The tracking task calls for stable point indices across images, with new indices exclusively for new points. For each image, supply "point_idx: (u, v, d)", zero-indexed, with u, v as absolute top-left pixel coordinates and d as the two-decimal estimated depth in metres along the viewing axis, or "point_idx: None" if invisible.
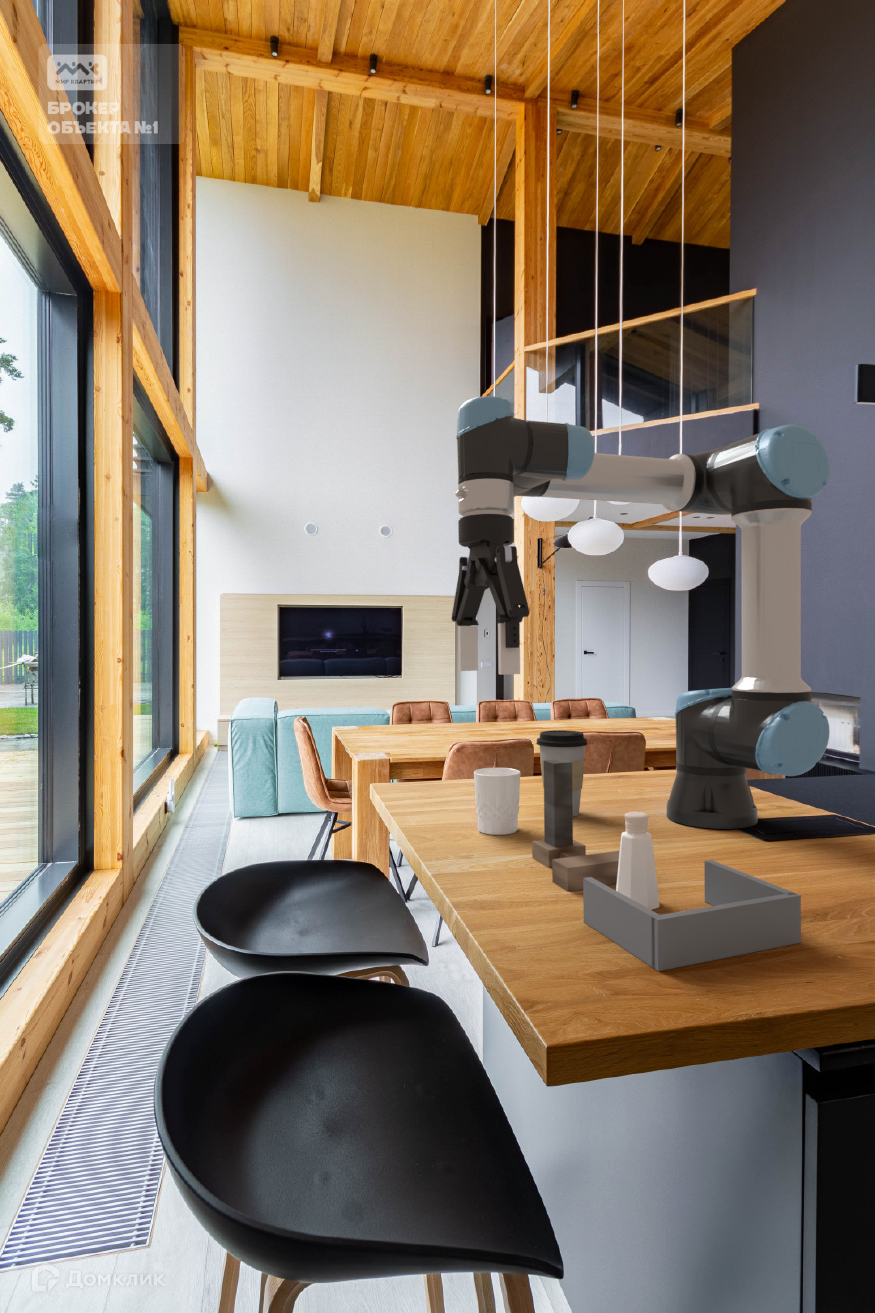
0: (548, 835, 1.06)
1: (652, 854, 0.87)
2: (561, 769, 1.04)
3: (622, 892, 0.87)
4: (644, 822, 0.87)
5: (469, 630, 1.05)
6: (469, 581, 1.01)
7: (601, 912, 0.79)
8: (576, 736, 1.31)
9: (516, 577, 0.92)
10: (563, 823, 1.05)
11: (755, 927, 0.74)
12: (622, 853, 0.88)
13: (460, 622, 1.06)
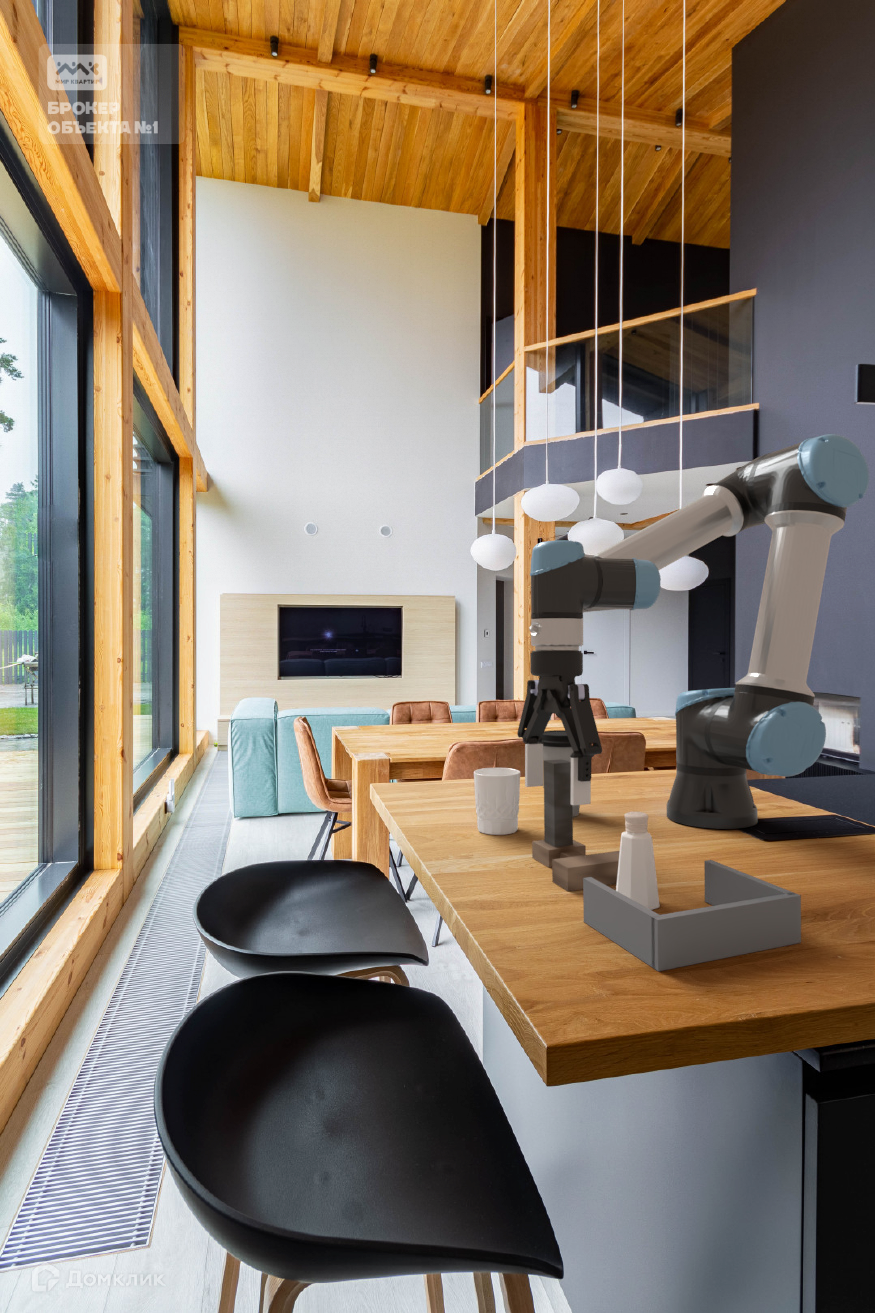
0: (548, 835, 1.06)
1: (652, 854, 0.87)
2: (562, 769, 1.04)
3: (622, 892, 0.87)
4: (644, 822, 0.87)
5: (535, 748, 1.12)
6: (538, 707, 1.07)
7: (601, 912, 0.79)
8: None
9: (589, 715, 0.98)
10: (563, 823, 1.05)
11: (755, 927, 0.74)
12: (622, 853, 0.88)
13: (527, 740, 1.12)
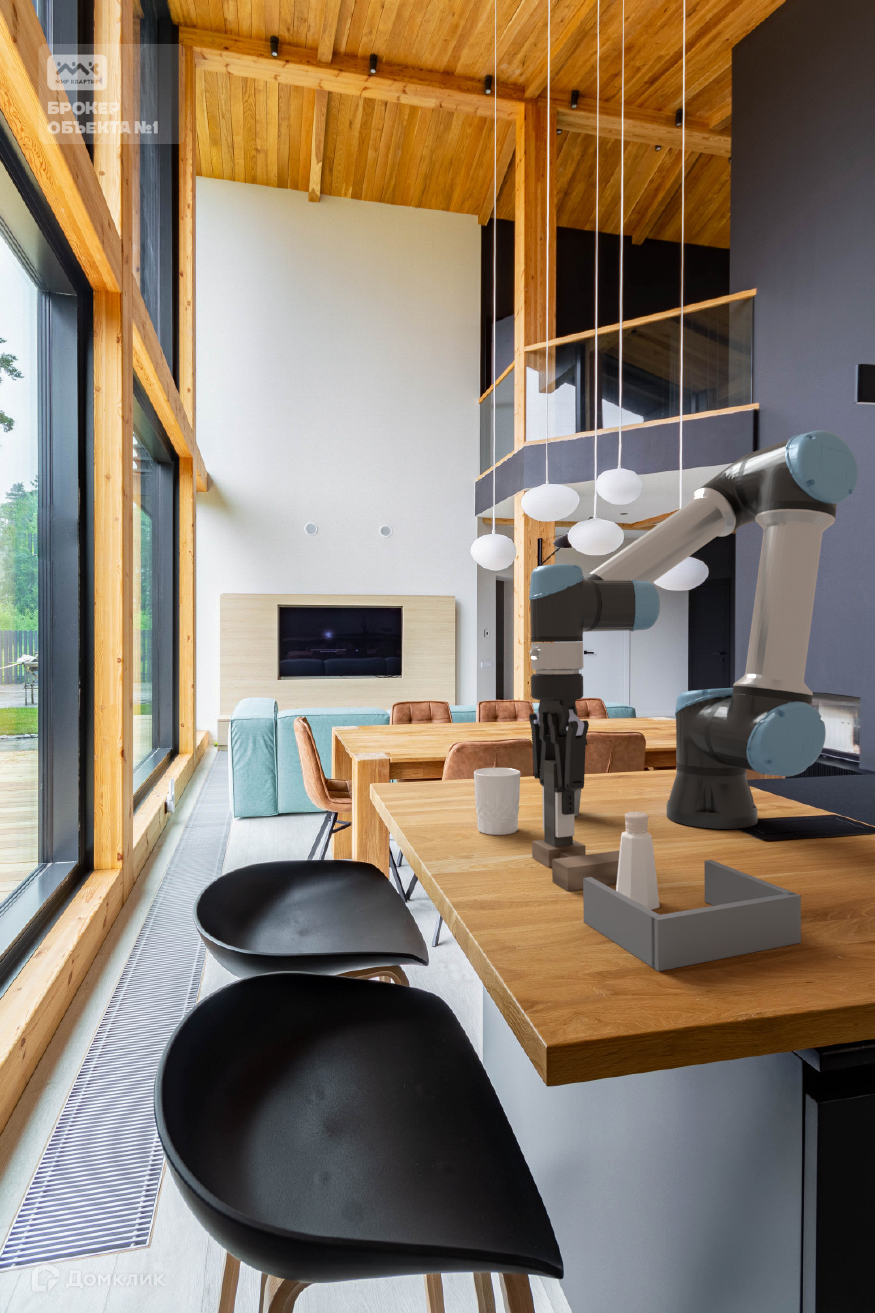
0: (548, 835, 1.06)
1: (652, 854, 0.87)
2: None
3: (622, 892, 0.87)
4: (644, 823, 0.87)
5: None
6: (544, 733, 1.06)
7: (601, 912, 0.79)
8: None
9: (581, 753, 1.01)
10: None
11: (755, 927, 0.74)
12: (622, 853, 0.88)
13: None
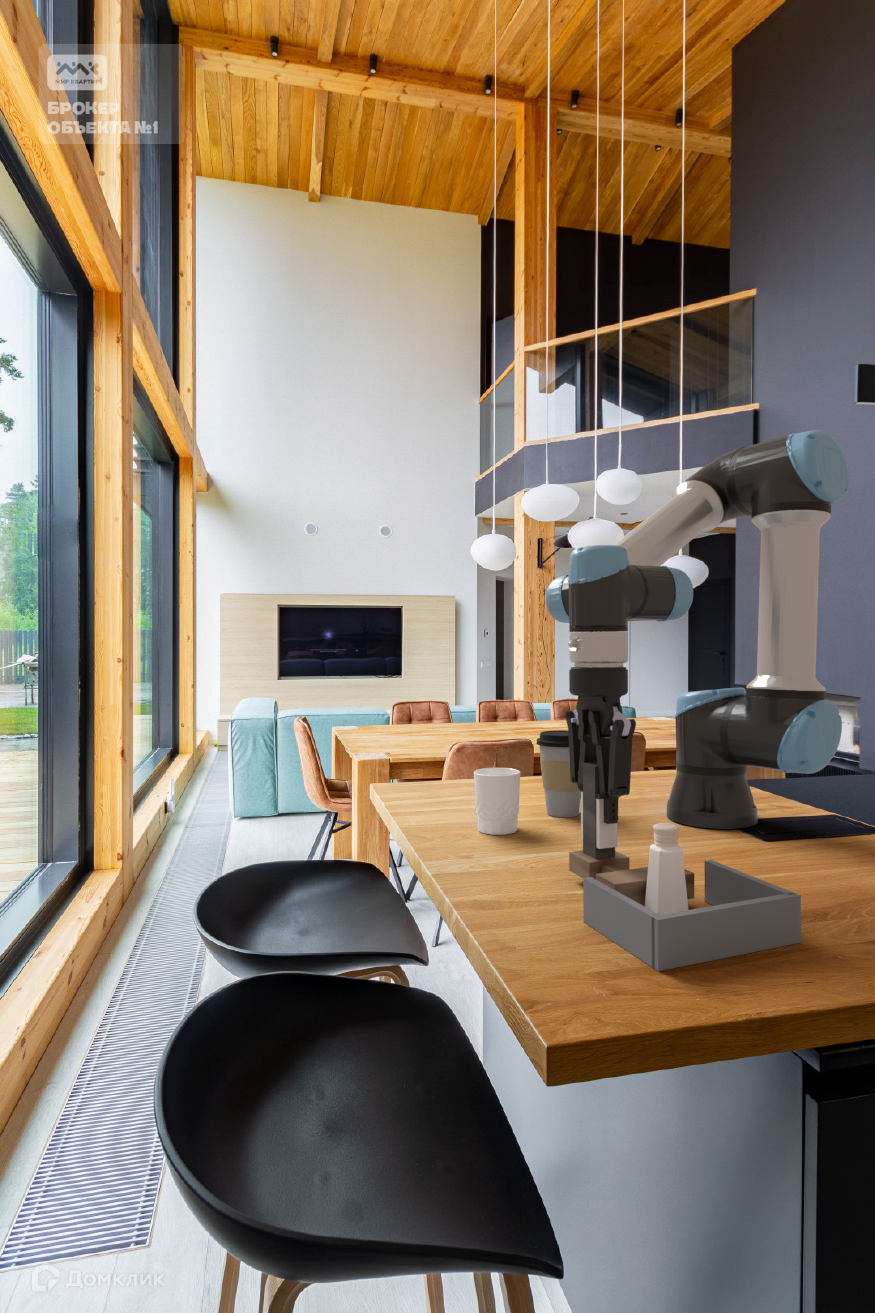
0: (588, 846, 0.96)
1: (682, 869, 0.81)
2: None
3: (649, 908, 0.82)
4: (673, 835, 0.81)
5: None
6: (583, 732, 0.96)
7: (601, 912, 0.79)
8: None
9: (627, 755, 0.90)
10: None
11: (755, 927, 0.74)
12: (649, 867, 0.82)
13: None
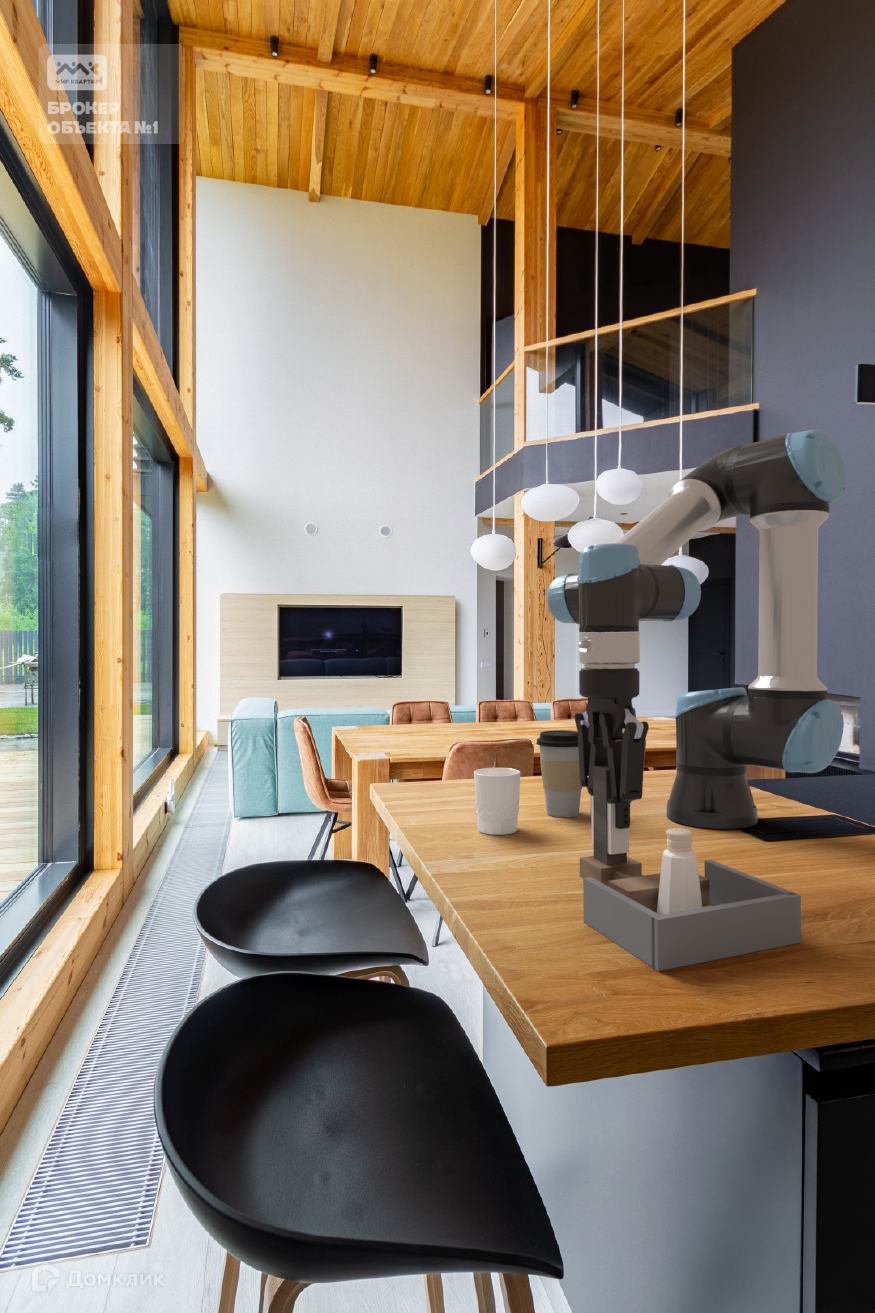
0: (598, 851, 0.93)
1: (695, 876, 0.79)
2: None
3: None
4: (686, 841, 0.79)
5: None
6: (594, 735, 0.94)
7: (601, 912, 0.79)
8: (576, 736, 1.31)
9: (639, 758, 0.88)
10: None
11: (755, 927, 0.74)
12: (662, 872, 0.80)
13: None
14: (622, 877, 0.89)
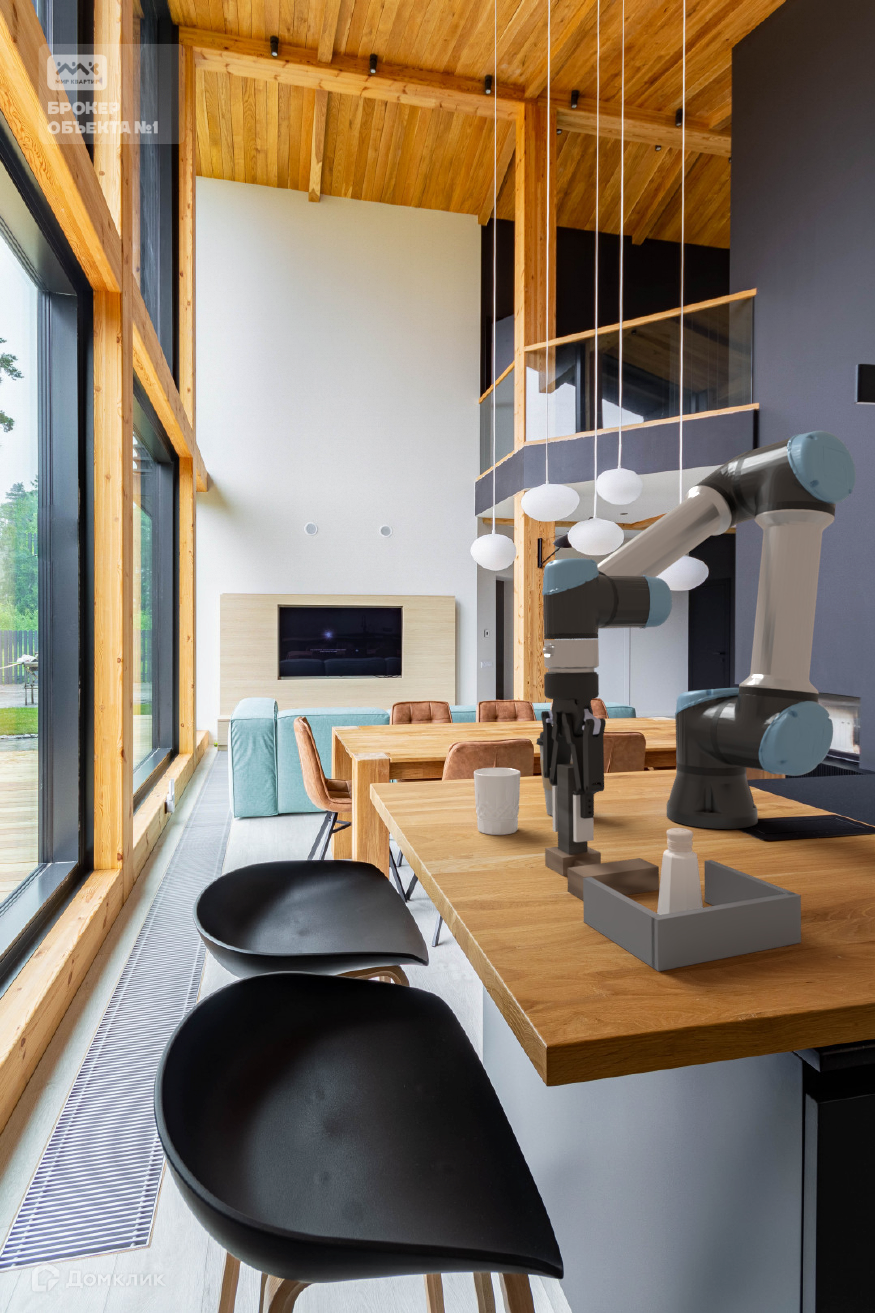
0: (562, 842, 1.02)
1: (695, 876, 0.79)
2: None
3: None
4: (686, 841, 0.79)
5: None
6: (557, 733, 1.03)
7: (601, 912, 0.79)
8: None
9: (599, 752, 0.97)
10: None
11: (755, 927, 0.74)
12: (662, 873, 0.80)
13: (554, 780, 1.05)
14: (582, 865, 0.98)
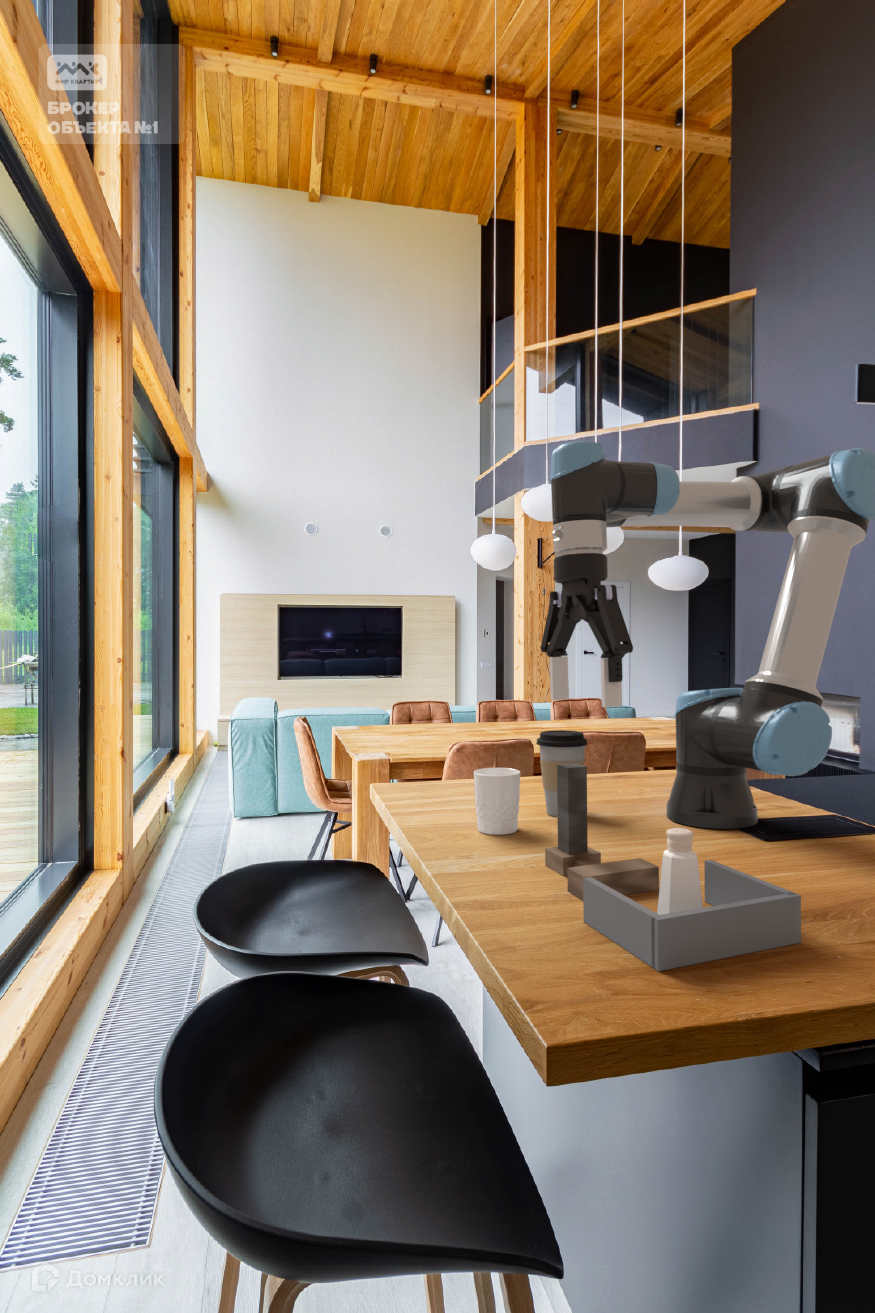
0: (562, 842, 1.02)
1: (695, 876, 0.79)
2: (576, 773, 1.01)
3: None
4: (686, 841, 0.79)
5: (560, 661, 1.10)
6: (563, 616, 1.06)
7: (601, 912, 0.79)
8: (576, 736, 1.31)
9: (618, 615, 0.97)
10: (577, 830, 1.01)
11: (755, 927, 0.74)
12: (662, 873, 0.80)
13: (551, 653, 1.10)
14: (582, 865, 0.98)
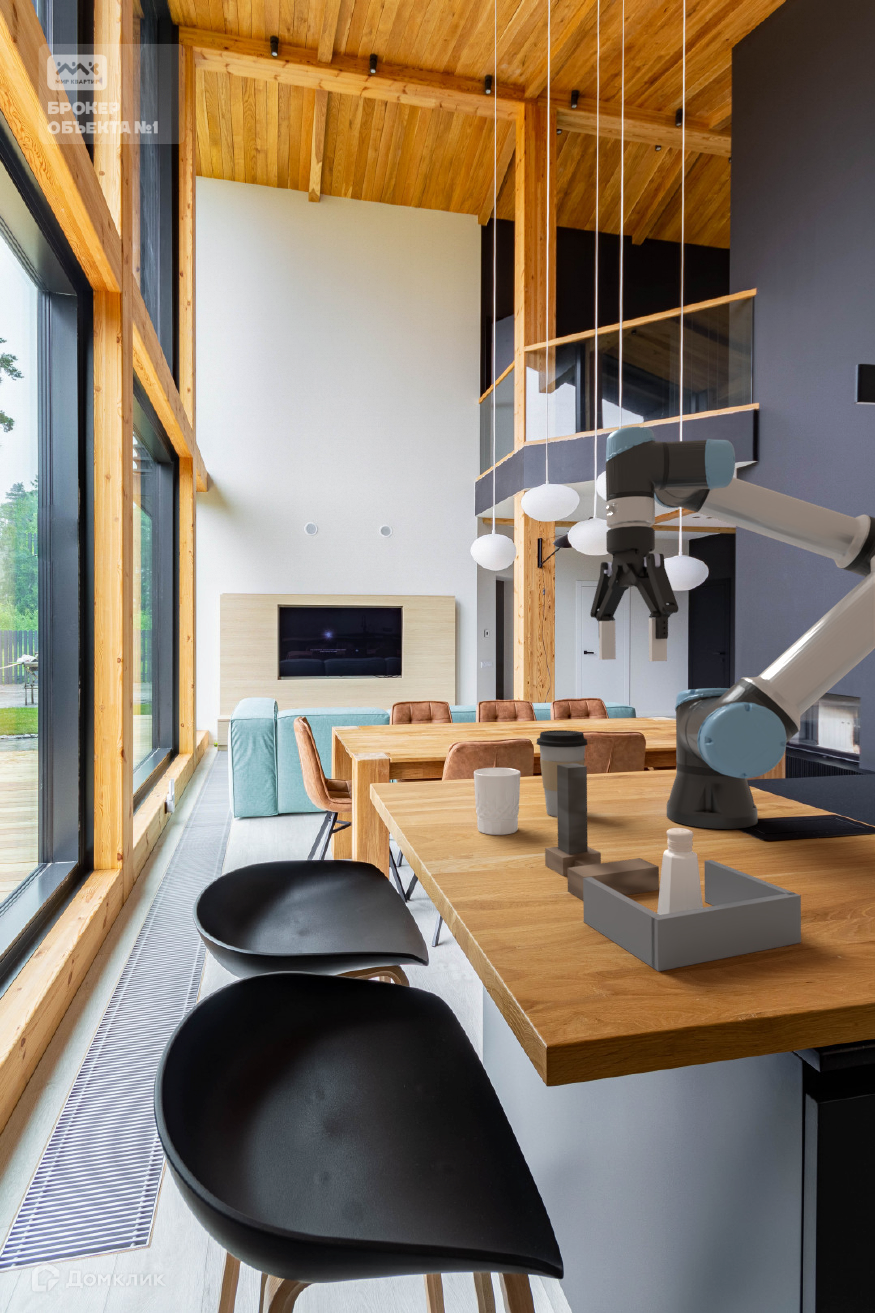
0: (562, 842, 1.02)
1: (696, 876, 0.79)
2: (576, 773, 1.01)
3: None
4: (686, 841, 0.79)
5: (608, 625, 1.23)
6: (613, 583, 1.19)
7: (601, 912, 0.79)
8: (576, 736, 1.31)
9: (665, 579, 1.10)
10: (577, 830, 1.01)
11: (755, 927, 0.74)
12: (662, 873, 0.80)
13: (600, 618, 1.23)
14: (582, 865, 0.98)
